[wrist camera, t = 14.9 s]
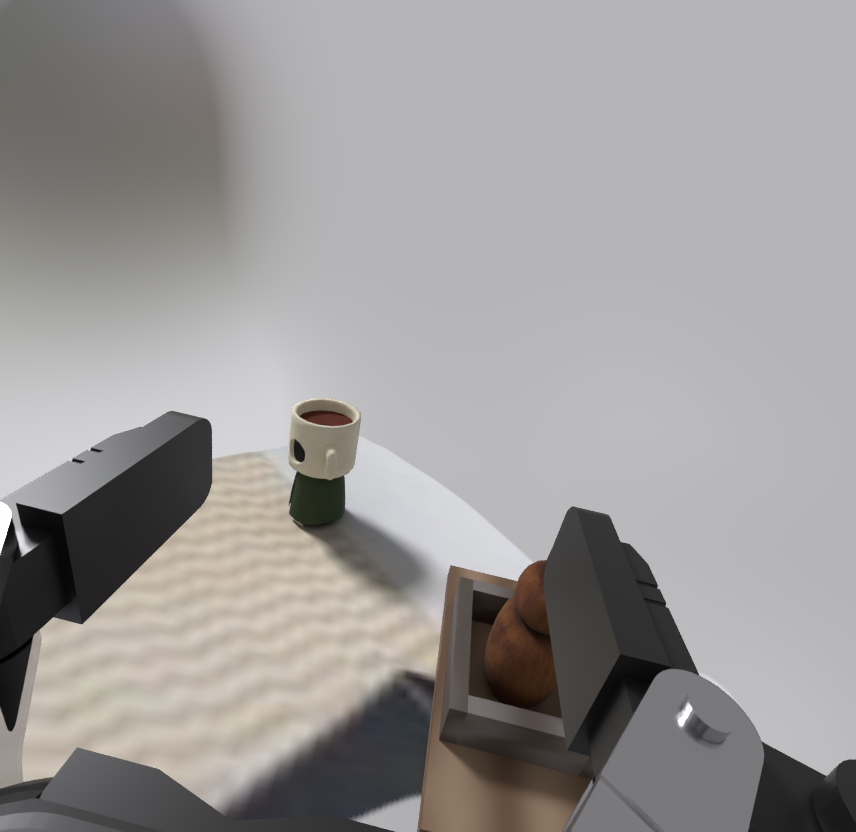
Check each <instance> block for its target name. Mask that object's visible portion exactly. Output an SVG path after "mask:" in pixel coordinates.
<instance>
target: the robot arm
mask: <svg viewBox="0 0 856 832" xmlns="http://www.w3.org/2000/svg"><path fill="white" fill-rule="evenodd" d="M211 484H212V429H211V424H210V422H209V421H208V420H207V419H205V418H200V417H196V416H191V415H188V414H183V413H179V412H175V411H170V412H167V413H165V414H164V415H162V416H160V417H159V418H157V419H155V420H154V421H152V422H150V423H149V424H147V425H145V426H144V427H138V428H135V429H132V430H129V431H125V432H122V433H119V434H115V435H113V436H111V437H109V438H107V439H106V440H104V441H102V442H100V443H99V444H97V445H95V446H93V447H92V448H91V450H90V451H88V450H86V451H84V452H83V453H81V454H79V455H78V456H76V457H74V458H73V460H72V461H71V462H70V461H67V462H65V463H64V464H62V465H60V466H58V467H57V468H55V469H53V470H51V471H50V472H48V473H46V474H44V475H43V476H41V477H39V478H37V479H36V480H34V481H32V482H30V483H29V484H27V485H25V486H24V487H22V488H20V489H18V490H16V491H15V492H13V493H11V494H9V495H8V496H6V497H4V498H2V499H1V500H0V832H394V831H390V830H387V829H383V828H379V827H375V826H371V825H368V824H364V823H360V822H356V821H353V820H349V819H345V818H341V817H338V816H334V815H319V816H304V817H288V818H272V819H257V820H233V819H229V818H228V817H226V816H224V815H222V814H221V813H220V812H218V811H217V810H215V809H214V808H213V807H211V806H210V805H208V804H207V803H206V802H204V801H203V800H201V799H200V798H198V797H197V796H196V795H194V794H193V793H191V792H190V791H189V790H187V789H186V788H184V787H183V786H182V785H180V784H179V783H177V782H176V781H175V780H173V779H172V778H170V777H169V776H168V775H166V774H165V773H163V772H162V771H161V770H159V769H156V768H153V767H149V766H145V765H141V764H137V763H134V762H130V761H126V760H122V759H119V758H115V757H111V756H107V755H103V754H100V753H96V752H92V751H88V750H85V749H81V748H76V750H75V751H74V752H73V753H72V755H71V756H70V757H69V759H68V760H67V761H66V762H65V764H64V765H63V766H62V767H61V769H60V770H59V771H58V773H57V774H56V775H55V776H54V777H50V778H44V779H38V780H33V781H27V782H23V773H22V749H23V741H24V735H25V730H26V724H27V719H28V713H29V708H30V702H31V697H32V691H33V686H34V680H35V675H36V669H37V664H38V658H39V653H40V647H41V634H40V629H41V628H42V627H43V626H44V625H45V624H46V623H47V622H48V621H50V620H51V619H52V618H53V617H55V618H59V619H63V620H67V621H71V622H75V623H79V624H83V623H84V622H85V621H86V620H87V619H88V618H89V617H90V616H91V615H92V614H93V613H94V612H95V611H96V610H97V609H98V608H99V607H100V606H101V605H102V604H103V603H104V602H105V601H106V600H107V599H108V598H109V597H110V596H111V595H112V594H113V593H114V592H115V591H116V590H117V589H118V588H119V587H120V586H121V585H122V584H123V583H124V582H125V581H126V580H127V579H128V578H129V577H130V576H131V575H132V574H133V573H134V572H135V571H136V570H137V569H138V568H139V567H140V566H141V565H142V564H143V563H144V562H145V561H146V560H147V559H148V558H149V557H150V556H151V555H152V554H153V553H154V552H155V551H156V550H158V549H159V548H160V547H161V546H162V545H163V544H164V543H165V542H166V541H167V540H168V539H169V538H170V537H171V536H172V535H173V534H174V533H175V532H176V531H177V530H178V529H179V528H180V527H181V526H182V525H183V524H184V523H185V522H186V521H187V520H188V519H189V518H190V517H191V516H192V515H193V514H194V513H195V512H196V511H197V510H198V509H199V508H200V507H201V506H202V504H203V503H204V502H205V500H206V498H207V496H208V494H209V491H210V488H211ZM657 586H658V585H657V582H656V580H655V578H654V576H653V574H652V572H651V570H650V567H649V565H648V564H647V563H646V562H645V560H644V559H643V558H642V557H641V556H640V555H639V554H638V553H637V552H636V550H635V549H634V548H633V547H632V546H631V545H630V544H627V543H622V542H620V540H619V537H618V535H617V533H616V530H615V528H614V525H613V523H612V521H611V518H610V517H609V515H607V514H603V513H599V512H594V511H590V510H586V509H582V508H577V507H571V508H570V509H569V510H568V511H567V513H566V515H565V518H564V520H563V523H562V525H561V528H560V531H559V533H558V535H557V538H556V540H555V543H554V545H553V548H552V550H551V553H550V555H549V558H548V560H547V563H546V567H545V572H544V580H543V590H544V597H545V604H546V611H547V618H548V625H549V631H550V638H551V645H552V652H553V659H554V665H555V672H556V679H557V686H558V693H559V700H560V706H561V713H562V720H563V727H564V734H565V740H566V747H567V751H571V752H575V753H579V754H583V755H587V756H591V759H592V764H593V770H594V777H593V778H592V780H591V781H590V783H589V785H588V786H587V788H586V790H585V792H584V793H583V795H582V797H581V798H580V800H579V802H578V804H577V805H576V807H575V809H574V811H573V812H572V814H571V816H570V818H569V819H568V821H567V823H566V825H565V826H564V828H563V830H562V832H856V760H846V761H843V762H842V763H840V764H839V765H838V766H837V767H836V768H835V769H834V770H833V771H832V772H831V773H830V774H829V775H828V776H825V775H823V774H821V773H819V772H817V771H816V770H814V769H812V768H810V767H808V766H806V765H804V764H802V763H800V762H799V761H797V760H795V759H793V758H791V757H789V756H787V755H785V754H783V753H782V752H780V751H778V750H776V749H774V748H772V747H770V746H769V745H767V744H765V743H763V742H762V741H761V739H760V736H759V734H758V732H757V730H756V728H755V726H754V725H753V723H752V722H751V720H750V719H749V717H748V716H747V715H746V713H745V712H744V711H743V710H742V708H741V707H740V706H739V705H738V704H737V703H736V702H735V701H734V700H733V699H732V698H731V697H730V696H729V695H728V694H726V693H725V692H724V691H723V690H721V689H720V688H719V687H718V686H716V685H715V684H713V683H711V682H710V681H708V680H707V679H705V678H703V677H701V676H699V673H698V671H697V669H696V667H695V665H694V663H693V661H692V658H691V656H690V654H689V652H688V650H687V648H686V645H685V643H684V641H683V639H682V637H681V635H680V632H679V630H678V628H677V626H676V624H675V622H674V619H673V618H672V615H671V613H670V611H669V609H668V608H666V606H665V605H666V602H665V600H664V598H663V595H662V593H661V591H660V590H659V589H657Z"/></svg>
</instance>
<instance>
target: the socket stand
mask: <svg viewBox="0 0 856 832" xmlns="http://www.w3.org/2000/svg"><path fill="white" fill-rule="evenodd" d="M517 582H518V581H514V580H509V579H505V578H501V577H497V576H493V575H489V574H485V573H481V572H476V571H472V570H468V569H464V568H460V567H456V566H452V565H451V566H450V569H449V573H448V577H447V586H446V594H445V603H444V611H443V620H442V628H441V636H440V645H439V653H438V662H437V670H436V678H435V687H434V695H433V704H432V712H431V721H430V729H429V737H428V746H427V754H426V763H425V771H424V780H423V788H422V796H421V805H420V813H419V822H418V830H417V832H562V830H563V828H564V826H565V825H566V823H567V821H568V819H569V818H570V816H571V814H572V812H573V811H574V809H575V807H576V805H577V804H578V802H579V800H580V798H581V797H582V795H583V793H584V792H585V790H586V788H587V786H588V785H589V783H590V781H591V780H592V778H593V777H594V770H593V764H592V759H591V756H587V755H583V754H579V753H575V752H571V751H567V747H566V740H565V734H564V727H563V720H562V713H561V706H560V700H559V693H558V686H557V685H556V687H555V688H554V690H553V692H552V693H551V695H550V696H549V697H548V698H547V699H546V700H545V701H543V702H542V703H540V704H539V705H536V706H533V707H528V708H518V707H515V706H511V705H509V704H508V703H506V702H504V701H503V700H501V699H499V697H498V696H497V695H496V694H495V693H494V691H493V690H492V689H491V687H490V685H489V682H488V680H487V677H486V674H485V667H484V660H485V649H486V644H487V640H488V637H489V634H490V631H491V629H492V626H493V624H494V622H495V619H496V617H497V615H498V613H499V612H500V610H501V609H502V607H503V606H504V605H505V603H506V602H507V601H508V599H510V598H511V597H512V596H514V593H515V588H516V585H517Z"/></svg>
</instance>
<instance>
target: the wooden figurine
mask: <svg viewBox="0 0 856 832" xmlns="http://www.w3.org/2000/svg"><path fill="white" fill-rule="evenodd" d="M550 553H551V552H550ZM549 555H550V554H549ZM548 558H549V556H548ZM547 560H548V559H547ZM547 560H544V561H537V562H535V563H533V564H531V565H529V566H528V567H527V568H526V569H525V570H524V571H523V573H522V574H521V575H520V577H519V579H518V582H517V585H516V588H515V593H514V596H512V597H511V598H510V599H508V601H507V602H506V603H505V605H504V606H503V607H502V609H501V610H500V612H499V613H498V615H497V617H496V619H495V622H494V624H493V626H492V629H491V631H490V634H489V637H488V640H487V644H486V649H485V660H484V667H485V674H486V677H487V680H488V682H489V685H490V687H491V689H492V690H493V691H494V693H495V694H496V695H497V696H498V697H499V699H501V700H503V701H504V702H506V703H508V704H509V705H511V706H515V707H518V708H528V707H533V706H536V705H539V704H540V703H542V702H543V701H545V700H546V699H547V698H548V697H549V696H550V695H551V693H552V692H553V690H554V688H555V687H556V685H557V679H556V672H555V665H554V659H553V652H552V645H551V638H550V631H549V625H548V618H547V611H546V604H545V597H544V590H543V580H544V572H545V567H546V563H547Z"/></svg>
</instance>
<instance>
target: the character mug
mask: <svg viewBox="0 0 856 832" xmlns="http://www.w3.org/2000/svg"><path fill="white" fill-rule="evenodd" d="M360 420H361V413H360V412H359V411H358V410H357V409H356V408H355V407H353V406H351V405H349V404H348V403H345V402H342V401H338V400H333V399H325V398H318V399H309V400H305V401H301V402H299V403H297V404H296V405H294V407H293V408H292V415H291V429H290V439H289V455H288V459H289V464H290V466H291V467H292V468H293V469H294V470H296V471H297V473H296V476H295V479H294V483H293V487H292V491H291V496H290V501H289V504H290V503H291V506H290V512H289V513H290V515H291V516H292V517H293V518H294V519H295V520H296V521H298V522H301V523H303V524H306V525H317V524H324V523H329V522H333V521H335V520H337V519H338V518H340V517H341V516H342V515H343V513H344V511H345V477H344V475H346V474H348V473H349V472H350V471H351V470H352V469H353V467H354V464H355V457H356V450H357V443H358V436H359V429H360Z"/></svg>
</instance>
